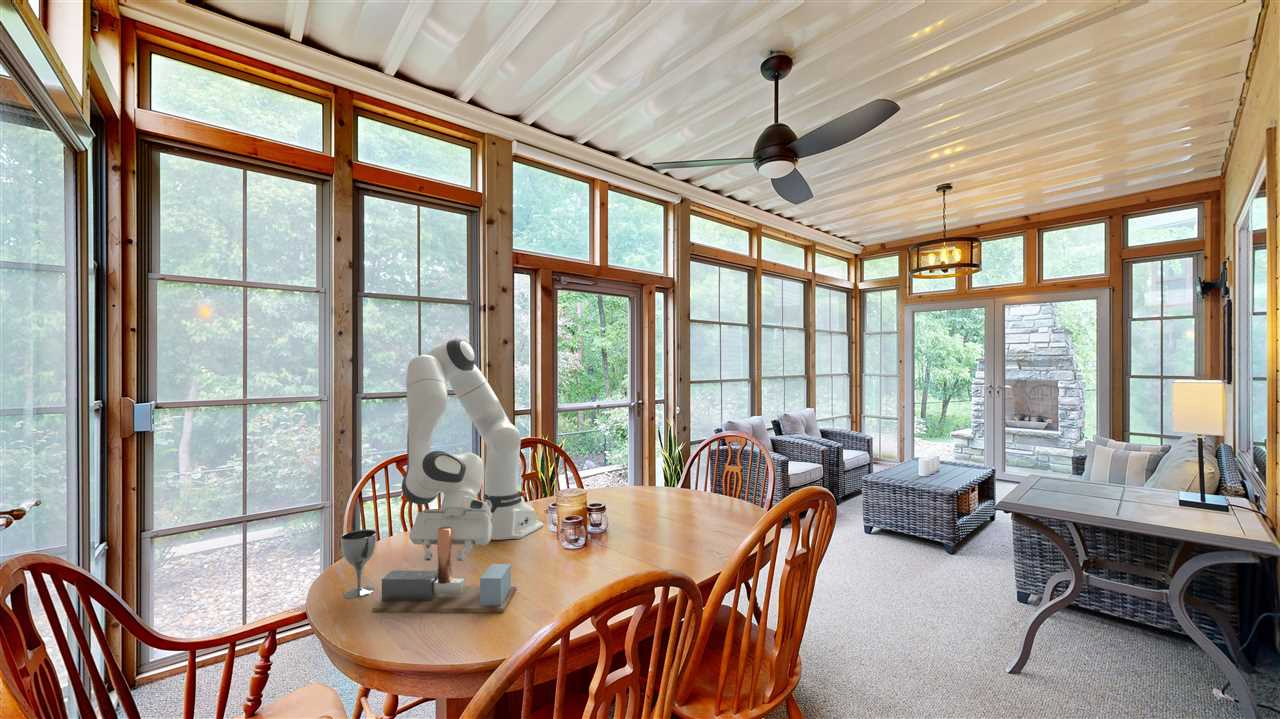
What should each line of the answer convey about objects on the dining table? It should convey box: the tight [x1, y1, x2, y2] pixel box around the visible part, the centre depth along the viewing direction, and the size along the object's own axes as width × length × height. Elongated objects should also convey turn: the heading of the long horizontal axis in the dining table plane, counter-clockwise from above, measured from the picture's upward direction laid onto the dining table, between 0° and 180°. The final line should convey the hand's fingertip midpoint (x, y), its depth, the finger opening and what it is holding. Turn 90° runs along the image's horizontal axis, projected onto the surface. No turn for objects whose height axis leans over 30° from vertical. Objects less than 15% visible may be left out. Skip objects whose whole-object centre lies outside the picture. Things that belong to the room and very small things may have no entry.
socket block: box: [479, 563, 512, 605], centre depth 131 cm, size 5×9×6 cm, turn 179°
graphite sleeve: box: [381, 569, 438, 602], centre depth 131 cm, size 12×5×5 cm, turn 89°
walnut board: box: [372, 585, 517, 614], centre depth 131 cm, size 31×12×1 cm, turn 89°
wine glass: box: [340, 528, 377, 599], centre depth 136 cm, size 8×8×15 cm
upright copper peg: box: [432, 527, 466, 593], centre depth 131 cm, size 18×3×16 cm, turn 89°
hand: (443, 559), depth 131 cm, fingers open, 7 cm apart
